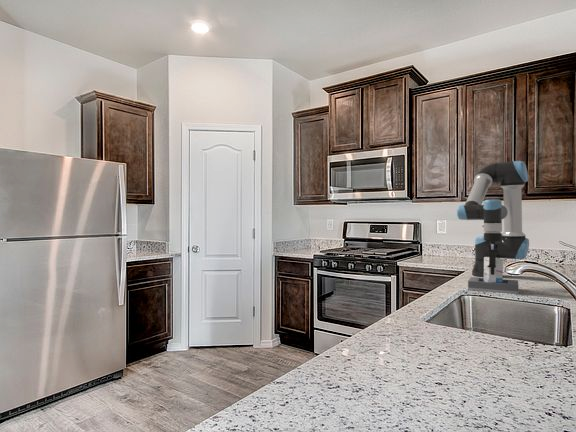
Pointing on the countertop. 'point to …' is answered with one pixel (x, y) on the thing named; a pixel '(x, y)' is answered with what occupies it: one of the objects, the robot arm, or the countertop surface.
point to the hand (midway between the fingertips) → (493, 280)
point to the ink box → (498, 270)
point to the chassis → (493, 285)
